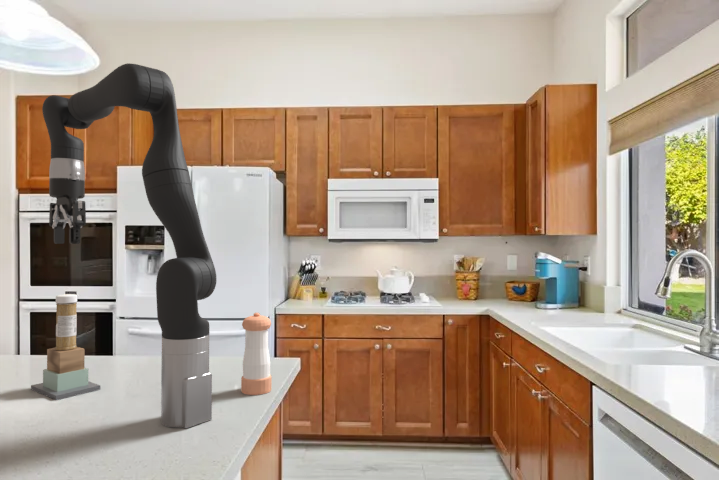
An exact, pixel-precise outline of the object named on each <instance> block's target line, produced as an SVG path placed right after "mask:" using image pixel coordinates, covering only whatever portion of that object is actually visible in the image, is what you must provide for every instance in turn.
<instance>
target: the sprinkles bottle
mask: <svg viewBox="0 0 719 480" xmlns="http://www.w3.org/2000/svg"><path fill="white" fill-rule="evenodd" d="M77 303H78V295H77V294H75V293H74V294H73V293H66V294H64V293H63V294H57V295H55V305H56V317H55V320H56V323H55V324H56V325H55V348H56V350H71V349H75V348H76V347H78V346H77V330H78V327H77V326H78V325H77V324H78V323H77V322H78V321H77V320H78V318H77V317H78V316H77V315H78V314H77Z"/></svg>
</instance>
